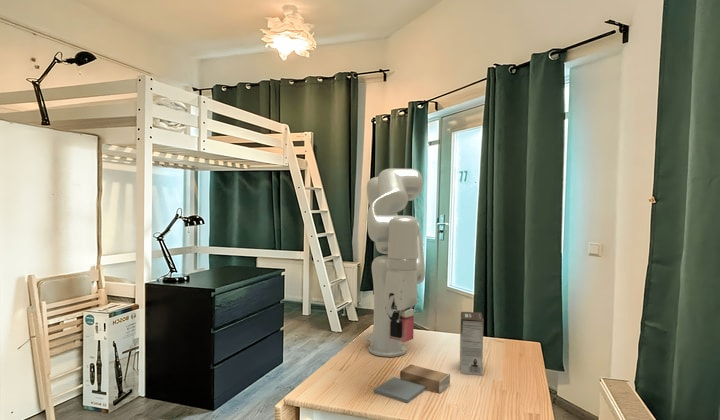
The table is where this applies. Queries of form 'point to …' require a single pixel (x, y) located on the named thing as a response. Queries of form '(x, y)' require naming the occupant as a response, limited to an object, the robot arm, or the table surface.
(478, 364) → the coffee box
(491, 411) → the table surface
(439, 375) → the bronze rectangular slab
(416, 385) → the slate pad
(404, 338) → the small box
